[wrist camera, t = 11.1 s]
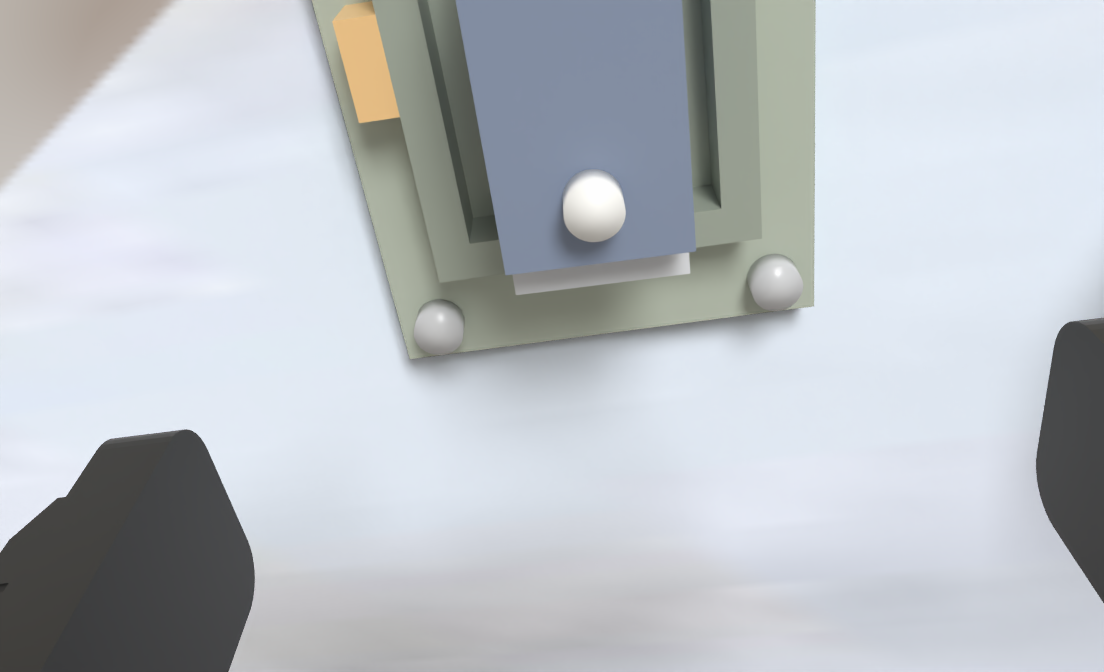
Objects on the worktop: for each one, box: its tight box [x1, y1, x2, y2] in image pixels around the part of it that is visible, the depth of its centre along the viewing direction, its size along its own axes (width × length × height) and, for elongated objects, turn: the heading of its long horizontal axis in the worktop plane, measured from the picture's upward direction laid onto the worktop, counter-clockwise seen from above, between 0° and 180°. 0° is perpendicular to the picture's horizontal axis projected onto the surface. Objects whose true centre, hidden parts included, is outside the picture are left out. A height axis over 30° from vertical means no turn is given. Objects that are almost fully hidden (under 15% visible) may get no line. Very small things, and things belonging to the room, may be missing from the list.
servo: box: [456, 0, 696, 295], centre depth 20 cm, size 4×10×7 cm, turn 8°
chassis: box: [312, 0, 815, 359], centre depth 22 cm, size 12×18×3 cm, turn 8°
